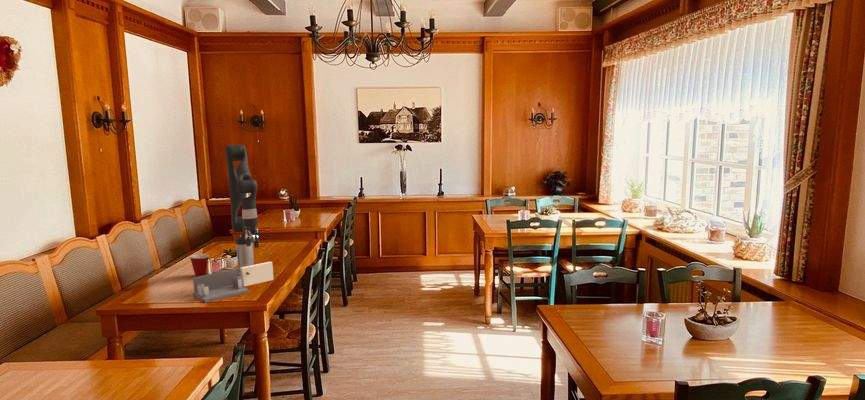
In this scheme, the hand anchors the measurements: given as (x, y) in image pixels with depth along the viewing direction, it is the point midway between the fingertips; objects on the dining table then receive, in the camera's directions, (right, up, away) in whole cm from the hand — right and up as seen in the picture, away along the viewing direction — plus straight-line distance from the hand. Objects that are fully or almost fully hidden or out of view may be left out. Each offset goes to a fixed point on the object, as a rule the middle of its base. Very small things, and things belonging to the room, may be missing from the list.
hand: (252, 246), depth 281 cm
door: (+1, -20, +7) cm, 22 cm away
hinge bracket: (-12, -23, -12) cm, 29 cm away
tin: (-14, -21, +8) cm, 26 cm away
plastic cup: (-38, -19, +24) cm, 49 cm away
